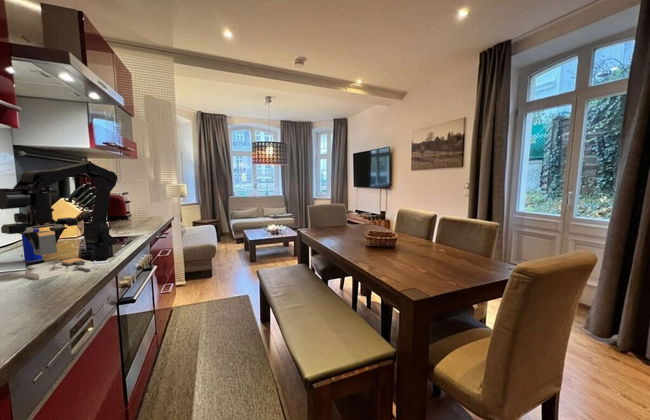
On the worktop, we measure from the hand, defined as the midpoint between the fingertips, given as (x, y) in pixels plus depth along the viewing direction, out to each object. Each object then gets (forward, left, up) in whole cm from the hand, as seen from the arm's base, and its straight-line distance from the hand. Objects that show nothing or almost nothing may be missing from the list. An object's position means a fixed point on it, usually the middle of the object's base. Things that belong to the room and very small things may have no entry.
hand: (45, 248), depth 98 cm
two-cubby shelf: (-4, 0, -10) cm, 11 cm away
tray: (-5, -10, -10) cm, 15 cm away
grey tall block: (0, 0, -2) cm, 2 cm away
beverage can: (-7, -26, -11) cm, 29 cm away
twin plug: (-7, +4, -10) cm, 13 cm away
